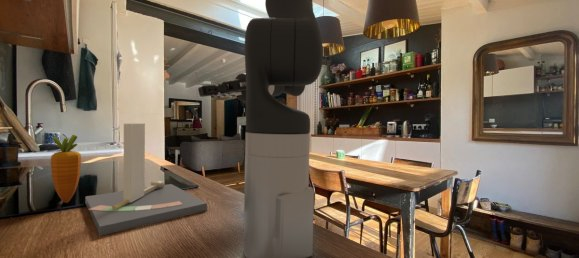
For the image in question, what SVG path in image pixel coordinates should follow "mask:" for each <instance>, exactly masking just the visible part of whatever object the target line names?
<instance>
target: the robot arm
mask: <svg viewBox="0 0 579 258" xmlns="http://www.w3.org/2000/svg"><path fill="white" fill-rule="evenodd" d="M313 2H314V1H313V0H265V11H266V14H267V16H268V17H253V18H252V19H250V20H249V22H248V24H247V26H246V29H245V33H244V35H245V36H244V64H245V65H244V67H245V69H244V70H245V72H243V73H239V74H238V75H236V77H235V79H233V80H226V81H223V82H221V83H216V84H215V85H214V84H213V85H210V84H209V85H202V86H199V87H198V89H197V90H198V94H199V96H200V97H202V98H203V97H210V98H213V99H220V98H237V99H238V100H239V101H241V102H244V103H245V144H244V145H245V147H244V149H245V151H244V195H243V197H244V198H243V199H244V200H243V203H244V205H243V207H244V208H243V213H244V214H243V254H244V257H245V258H309V257H311V256H312V255H313V246H314V240H313V239H314V212H315V209H314V208H315V207H314V206H315V205H314V204H315V199H314V198H315V189H314V188H313V187H311V186H309V185H310V184H309V183H310V182H309V180H310V176H309V175H310V148H311V147H310V146H311V142H310V141H311V139H310V137H311V118H310V115H309V114H307V112H304V111H302V110H300V109H297V108H294V107H292V106H288V105H287V104H284V103H283V102H281V101H279V100H278V99H277V98H275V97H278V96H280V95H281V94H285V95H286V94H287V95H290V96H291V97H299V96H301V95H302V94H303V93H304V92H305V88H306V86H309V85H312V84H314V83H315V82H316V81H317V79H318V78H319V76H320V74H321V71H322V67H323V64H324V63H323V61H324V46H323V39H322V34H321V29H320V26H319V23H318V20H317V17H316V15H315V12H314V6H313V4H314V3H313Z"/></svg>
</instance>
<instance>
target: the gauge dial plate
mask: <svg viewBox="0 0 579 258" xmlns="http://www.w3.org/2000/svg"><path fill="white" fill-rule="evenodd" d="M145 188H146V187H144V189H145ZM122 201H123V190H121V191H115V192H114V191H113V192H107V193H101V194H95V195H87V196H85V205H86V208H87V210H88V212H89V214H90V216H91V219H92V221H93V224H94V226H95V228H96V231H97V233H98V235H99V237H101V236H106V235H109V234H113V233H118V232H122V231H126V230H130V229H135V228H138V227H143V226H146V225H147V226H148V225H152V224H156V223H159V222H163V221H167V220H172V219H176V218H181V217H185V216H189V215H194V214H197V213H202V212H205V211H208V203H207V202H206V201H204V200H202V199H200V198H198V197H196V196H194V195H193V194H190V193H189V192H187V191H186V190H184V189H181V188H179V187H178V186H176V185H174V184H172V183H170V184H168V183H167V184H164V187H162V188H156V189H154V190H153V191H151V192H149V193H147V194H145V195H144V196H142V197H140V198H139V199H137V200H135V201H133V202H131V203H126V204H124V205H122V206H120V207H118V208H116V209H112V206H114V205H116V204H118V203H120V202H122Z"/></svg>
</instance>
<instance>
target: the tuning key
mask: <svg viewBox="0 0 579 258" xmlns="http://www.w3.org/2000/svg"><path fill="white" fill-rule="evenodd" d="M145 135H146V124H145V123H123V169H122V170H123V172H122V173H123V175H122V176H123V180H122V181H123V188H122V189H123V190H122V191H123V201H122V202H120V203H118V204H116V205H114V206H112V209H116V208H118V207H120V206H122V205H124V204H126V203H131V202H133V201H135V200H137V199H139V198H140V197H142V196H144V195H145V194H147V193H149V192H151V191H153V190H154V189H156V188H162V187H164V185H165V181H164V180H153V181H151V182H150V186H148V187H145V164H146V163H145V160H146V159H145V158H146V157H145V154H146V153H145V150H146V149H145V145H146V144H145V143H146V142H145V141H146V140H145V139H146V138H145V137H146V136H145ZM144 188H145V189H144Z"/></svg>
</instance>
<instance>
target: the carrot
mask: <svg viewBox="0 0 579 258" xmlns="http://www.w3.org/2000/svg"><path fill="white" fill-rule="evenodd" d="M77 139H78V136H77V135H76V134H71V137H70V138H69V137H64V138H63V140H62V142H61V141H60V139H59V138H58V137H57V136H53V138H52V140H53V142H54V143H55V144H56V146H57V147H58V148H59V150H60V151H57V152H55V153H53V154H52V155H51V158H50V169H51V170H50V171H51V179H52V182H53V183H52V184H53V186H54V190H55V192H56V193H57V195H58V197H59V198H60V200H61V201H62V202H63V203H65V204H68V203H69V202H70V201H71V199H72V198H73V197H74V195H75V193H76V190H77V188H78V185H79V181H80V176H81V168H82V167H81V166H82V154H81V153H80V152H78V151H76V150H75V151H73V149H74V148H75V147H76V146H78V143H75V142H76V140H77Z"/></svg>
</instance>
